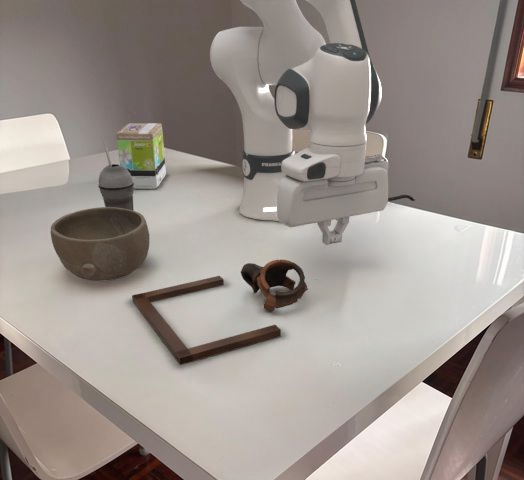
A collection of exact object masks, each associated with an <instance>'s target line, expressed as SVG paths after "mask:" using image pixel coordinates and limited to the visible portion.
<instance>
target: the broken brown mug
mask: <svg viewBox="0 0 524 480" xmlns="http://www.w3.org/2000/svg"><path fill="white" fill-rule="evenodd" d="M292 270H294V271H295V272H296V274H297V275H298V277H299V281H298V284H297V286H296V283H297V282H296V280H294V279H292V278H291V277H289V276H288V275H287V274H288V272H289V271H292ZM240 276H241V277H242V279H243V280H244V281H245V283H246V284H247V285H249V286H250V287H251V289H252V292H253V294H257V293H258V292H259V291H260V293H261V295H263V297H264V298H265V300H264V302H263V304H262V306H263V309H264V310H266V311H267V312H269V313H272V312H273V311H275V309H282V308H285V307H288V306H291V305H294V304H296V303H298V301H299V300H301V299H302V298H303V297H304V295H305V292H307V291H308V290H309V287H308V285H307V283H306V280H305V279H306V276H305V273H304V271H303V269H302V268H301V266H299V264H297V263H295V262H294V261H291V260H287V259H275V260H271V261H269V262H267V263H266V264H265V265H264V266H261V265H258V264H257V263H253V262H248V263H245V264H244V265H243V266H242V267H241V270H240ZM276 287H282V288H285V289H288V290H285V291H281V290H276V289H275V290H274V291H275V294H274V293H272V292H270V289H271V288H276Z"/></svg>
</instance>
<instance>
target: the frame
mask: <svg viewBox="0 0 524 480" xmlns="http://www.w3.org/2000/svg"><path fill="white" fill-rule="evenodd" d="M224 283H225V282H224V278H222V276H221V275H216V276H212V277H211V276H210V277H208V278H203V279H198V280H194V281H190V282H185V283H181V284H177V285H172V286H168V287H163V288H158V289H155V290H150V291H145V292H141V293H137V294H133V295H131V300H132V302H133V304H134V306H135V307H136V308H137V309H138V311H139V312H140V313H141V315H142V316H143V317H144V318H145V320H146V321H147V323H148V324H149V325H150V327H151V328H152V329H153V330H154V332H155V333H156V335H157V336H158V337H159V339H160V341H162V343H163V344H164V345H165V347H166V348H167V349H168V351H169V352H170V353H171V355H172V356H173V357H174V358H175V359H174V360H176V361H177V362H178V364H179V365H180V366H181V365H184V364H188V363H191V362H195V361H198V360H202V359H206V358H209V357H212V356H216V355H220V354H223V353H226V352H230V351H232V350H234V351H235V350H237V349H240V348H244V347H248V346H251V345H254V344H258V343H262V342H264V341H269V340H271V339H275V338H278V337H281V333H282V330H281V328H280V327H279V326H277V325H276V324H271V325H268V326H265V327H261V328H257V329H254V330H250V331H247V332H243V333H238V334H236V335H232V336H228V337H224V338H221V339H218V340H213V341H211V342H207V343H203V344H199V345H196V346H193V347H187V345H186V344H185V343H184V342H183V341H182V340H181V338H180V337H179V336H178V334H177V333H176V332H175V331H174V330H173V328H172V327H171V326H170V325H169V323H168V322H167V321H166V319H165V318H164V317H163V316H162V314H161V313H160V312H159V311H158V310H157V308H156V307H155V306H154V305H153V303H152V302H157V301H161V300H165V299H170V298H175V297H179V296H183V295H187V294H192V293H196V292H201V291H204V290H208V289H212V288H213V289H214V288H217V287H222V286H224Z"/></svg>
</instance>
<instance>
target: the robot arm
mask: <svg viewBox="0 0 524 480" xmlns="http://www.w3.org/2000/svg"><path fill="white" fill-rule="evenodd" d="M239 1H240V2H241V4H243V5H244V6H245V7H246V8H248V9H250V10H251V11H253V12H254V13H255V14H256V15H257V16H258V18H259V19H260V21H261V23H262V25H263V26H236V27H232V28H228V29H223V30H221V31H220V30H219V31H218V32H217V34H215V36H214V38H213V39H212V42H211V45H210V48H209V49H210V50H209V60H210V64H211V67H212V70H213V73H214V74H215V75H216V77H218V79H219V80H221V82H223V83H224V84H225V85H226V86H227V88H228V89H229V90H230V91H231V93H232V94H233V96H234V98H235V100H236V103H237V105H238V108H239V110H240V114H241V122H242V131H243V148H244V149H243V150H242V175H243V186H242V187H243V189H242V196H241V201H240V205H239V209H238V212H239V214H240V215H242V216H244V217H246V218H249V219H254V220H262V221H276V222H280V223H281V224H283V225H285V226H286V227H288V228H294V227H300V226H306V225H310V224H317V226H318V228H319V230H320V232H321V233H322V236H321V238H322V239H321V241H322V243H323V244H324V245H325V246H329V245H333V244H339V243H342V241H343V233H344V232H345V230H346V228H347V227H348V225H349V224H350V217H355V216H361V215H365V214H371V213H377V212H382V211H384V210H385V209H386V207H387V205H388V203H389V202H391V201H392V202H393V201H398V200H403V199H409V201H412V202H415V201H416V199H415V198H414V197H413V196H412V195H409V194H401V195H400V194H399V195H397V196H392V197H389V176H388V173H389V167H390V166H389V161H388V159H387V158H386V157H384V156H383V155H382V154H375V155H366V152H367V150H366V149H367V142H368V141H367V133H366V125H368V123H369V122H370V121H371V120H372V119H373V117H374V116H375V114H376V113H377V111H378V109H379V107H380V104H381V102H382V96H383V95H382V93H383V92H382V90H383V89H382V85H381V84H382V83H381V80H380V78H379V74H378V72H377V70H376V68H375V66H374V63H373V60H372V59H371V56H370V52H369V49H368V45H367V41H366V37H365V34H364V29H363V26H362V22H361V18H360V14H359V11H358V6H357V2H356V0H304V1H305V2H307V3H309V4H310V5H311V6H312V7H314V8H315V9H316V10H317V12H318V13H319V14H320V15H321V18H322V19H323V23H324V25H325V29H326V33H327V36H328V41H329V43H326V40H325V39H324V36H323V35H322V34H321V33H320V31H318V30H317V29H316V28H314V27H313V26H312V25H311V23H310V22H309V21H308V20H307V19H306V17H305V16H304V14H303V12H302V11H301V9H300V7H299V5H298V2H297V0H239ZM270 86H275V88H274V97H273V95H272V92H271V90H270ZM293 131H310V139H309V146H307V147H305V148H303V149H302V150H300V151H296V150H294V149H293ZM332 220H334V221H337V222H336V224H335V226H334V228H333V229H332V230H330V228H329V227H330V226H331V225H332Z"/></svg>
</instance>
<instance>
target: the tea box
mask: <svg viewBox="0 0 524 480" xmlns="http://www.w3.org/2000/svg"><path fill="white" fill-rule="evenodd" d="M115 134H116V144H117V150H118V160H119V165H121V166H123V167H124V168H126V169H127V170H128V171H129V173H130V174H131V177H132V180H133V183H134V185H133V187H134V190H144V189H145V190H154V189H155V190H157V189H158V187H159V186H160V185H161V183H162V181H163V180H164V178H165V177H166V176H167V168H166V167H167V166H166V155H165V144H164V143H165V142H164V131H163V124H162V123H161V122H159V123H158V122H157V123H152V122H151V123H149V122H148V123H147V122H145V123H144V122H143V123H141V122H139V123H137V122H135V123H134V122H130V123H129V122H128V123H127V124H126V125H124V126H123V127H122V128H121V129H120V130H118V131H117V132H116V133H115Z"/></svg>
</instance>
